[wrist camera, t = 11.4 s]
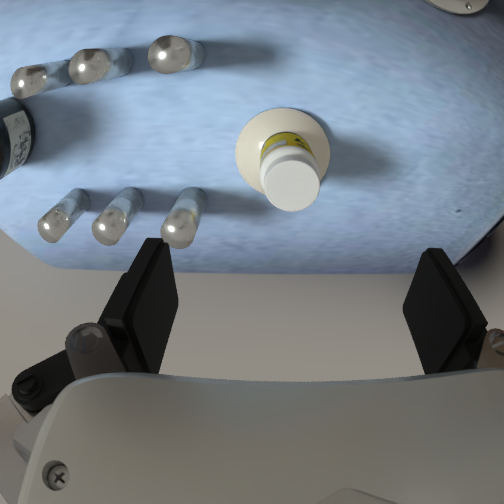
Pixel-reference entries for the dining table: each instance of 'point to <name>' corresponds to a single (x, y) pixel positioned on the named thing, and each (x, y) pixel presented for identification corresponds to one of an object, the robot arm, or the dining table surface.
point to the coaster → (270, 124)
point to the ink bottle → (14, 135)
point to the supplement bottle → (289, 171)
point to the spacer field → (129, 199)
